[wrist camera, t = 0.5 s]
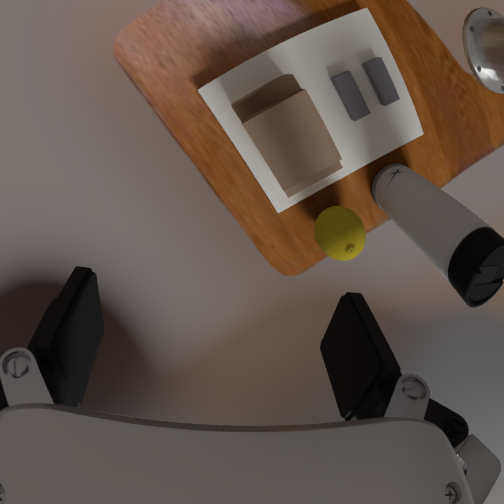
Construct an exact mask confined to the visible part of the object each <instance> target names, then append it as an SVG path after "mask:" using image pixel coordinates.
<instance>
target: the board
mask: <svg viewBox="0 0 504 504" xmlns="http://www.w3.org/2000/svg"><path fill="white" fill-rule="evenodd" d="M376 57H381V58H382V60H383V62H384V64H385V66H386V68H387V70H388V73H389V75H390V77H391V79H392V81H393V84H394V86H395V88H396V91H397V93H398V95H399V98H400V99H399V100H397V101H395V102H393V103H391V104H389V105H387V106H384V105H381V104H380V102H379V100H378V97H377V95H376V93H375V91H374V89H373V87H372V84H371V82H370V80H369V78H368V76H367V74H366V72H365V70H364V68H363V66H362V63H364V62H366V61H369V60H371V59H373V58H376ZM344 71H350V72H351V74H352V76H353V78H354V79H355V81H356V83H357V86H358V88H359V90H360V92H361V94H362V96H363V98H364V100H365V102H366V104H367V107H368V109H369V111H370V113H371V114H369V115H367V116H365V117H363V118H361V119H359V120H357V121H353V120H351V119H350V117H349V115H348V113H347V111H346V109H345V107H344V105H343V103H342V101H341V99H340V97H339V95H338V93H337V91H336V89H335V87H334V85H333V83H332V82H331V80H330V78H331V77H333V76H335V75H338V74H340V73H342V72H344ZM283 74H293V75H294V77H295V79H296V80H297V82H298V84H299V85H300V87H301V88H302V89H306V91H307V92H308V94H309V96H310V98H311V100H312V101H313V103H314V105H315V107H316V109H317V110H318V112H319V114H320V116H321V118H322V120H323V122H324V124H325V126H326V128H327V129H328V131H329V133H330V135H331V137H332V139H333V141H334V143H335V145H336V147H337V149H338V151H339V153H340V156H341V158H342V160H340V163H341V165H342V167H343V168H342V169H340V170H338V171H336V172H335V173H333V174H331V175H329V176H327V177H325V178H324V179H322V180H320V181H318V182H316V183H315V184H313V185H311V186H309V187H307V188H306V189H304V190H302V191H300V192H298V193H297V194H295V195H293V196H291V197H289V198H288V197H287V195H286V193H285V192H284V191H283V190H282V188H281V186H280V185H279V183H278V181H277V180H276V178H275V176H274V175H273V173H272V171H271V170H270V168H269V166H268V165H267V163H266V162H265V160H264V158H263V157H262V155H261V154H260V152H259V150H258V149H257V147H256V146H255V144H254V142H253V141H252V139H251V138H250V136H249V135H248V133H247V131H246V130H245V128H244V127H243V125H242V123H241V121H240V119H239V118H238V116H237V115H236V113H235V112H234V110H233V109H232V106H231V103H233V102H235V101H236V100H238V99H240V98H241V97H243V96H245V95H247V94H248V93H250V92H252V91H254V90H255V89H257V88H259V87H261V86H263V85H264V84H266V83H268V82H270V81H272V80H274V79H276V78H277V77H279V76H281V75H283ZM198 92H199V93H200V95H201V96H202V98H203V99H204V101H205V102H206V103H207V105H208V106H209V108H210V109H211V111H212V112H213V114H214V115H215V117H216V118H217V120H218V121H219V123H220V124H221V126H222V127H223V129H224V130H225V132H226V133H227V135H228V136H229V138H230V139H231V141H232V142H233V144H234V145H235V147H236V148H237V150H238V151H239V153H240V154H241V156H242V157H243V159H244V160H245V162H246V164H247V165H248V167H249V168H250V170H251V171H252V173H253V174H254V176H255V177H256V179H257V181H258V182H259V184H260V185H261V187H262V188H263V190H264V192H265V193H266V195H267V196H268V198H269V200H270V201H271V203H272V204H273V206H274V207H275V209H276V211H277V212H278V213H280V212H281V211H283V210H285V209H287V208H289V207H290V206H292V205H294V204H296V203H297V202H299V201H301V200H303V199H305V198H306V197H308V196H310V195H312V194H314V193H315V192H317V191H319V190H321V189H323V188H324V187H326V186H328V185H330V184H332V183H334V182H335V181H337V180H339V179H341V178H343V177H345V176H346V175H348V174H350V173H352V172H354V171H356V170H357V169H359V168H361V167H363V166H365V165H367V164H368V163H370V162H372V161H374V160H376V159H378V158H380V157H381V156H383V155H385V154H387V153H389V152H391V151H393V150H394V149H396V148H398V147H400V146H402V145H404V144H406V143H408V142H409V141H411V140H413V139H415V138H417V137H419V136H421V135H423V134H424V133H423V130H422V127H421V125H420V122H419V119H418V116H417V113H416V111H415V108H414V105H413V103H412V100H411V98H410V95H409V93H408V90H407V88H406V85H405V83H404V81H403V78H402V76H401V74H400V71H399V69H398V67H397V65H396V62H395V60H394V58H393V56H392V54H391V52H390V50H389V48H388V46H387V44H386V42H385V40H384V38H383V36H382V34H381V32H380V30H379V28H378V26H377V24H376V23H375V21H374V19H373V17H372V15H371V14H370V12H369V10H368V8H364V9H361V10H359V11H356V12H353V13H350V14H348V15H345V16H342V17H340V18H337V19H334V20H332V21H329V22H327V23H325V24H322V25H320V26H317V27H315V28H313V29H310V30H308V31H306V32H304V33H301V34H299V35H297V36H295V37H293V38H291V39H288V40H286V41H284V42H282V43H280V44H278V45H276V46H274V47H272V48H270V49H268V50H266V51H264V52H262V53H260V54H258V55H257V56H255V57H253V58H251V59H249V60H247V61H245V62H244V63H242V64H240V65H238V66H236V67H235V68H233V69H231V70H230V71H228V72H226V73H224V74H223V75H221V76H219V77H218V78H216V79H214V80H213V81H211V82H209V83H208V84H206V85H205V86H203V87H201V88H200V89H198Z"/></svg>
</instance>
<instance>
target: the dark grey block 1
mask: <svg viewBox="0 0 504 504" xmlns="http://www.w3.org/2000/svg"><path fill="white" fill-rule="evenodd" d="M330 80H331V82H332V83H333V85H334V87H335V89H336V91H337V93H338V95H339V97H340V99H341V101H342V103H343V105H344V107H345V109H346V111H347V113H348V115H349V117H350V119H351V120H353V121H357V120H359V119H361V118H363V117H365V116H367V115H369V114H371V113H370V111H369V109H368V107H367V104H366V102H365V100H364V98H363V96H362V94H361V92H360V90H359V88H358V86H357V83H356V81H355V79H354V78H353V76H352V74H351V72H350V71H344V72H342V73H340V74H338V75H335V76H333V77H331V78H330Z"/></svg>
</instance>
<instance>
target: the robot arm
mask: <svg viewBox="0 0 504 504" xmlns="http://www.w3.org/2000/svg"><path fill="white" fill-rule="evenodd" d="M463 46H464V51H465V55H466V58H467V61H468V64H469V66H470V68H471V70H472V72H473V74H474V75H475V77H476V78H477V79H478V81H479V82H480V83H481V84H482V85H483V86H484V87H485V88H487V89H489V90H490V91H493V92H497V93H501V94H502V93H504V17H503V16H501V15H500V14H499V13H498V12H496V11H494V10H492V9H488V8H478V9H474V10H473V11H471V12H470V13H469V14H468V15H467V17H466V19H465V22H464V26H463ZM103 333H104V322H103V316H102V310H101V304H100V298H99V291H98V284H97V276H96V274H95V272H92V270H91V268H87V267H78V266H77V267H75V269H74V271H73V272H72V274H71V276H70V277H69V279H68V280H67V282H66V284H65V286H64V287H63V289H62V291H61V292H60V294H59V296H58V298H55V299H53V300H52V302H51V303H50V305H49V307H48V309H47V310H46V312H45V315H44V316H43V318H42V320H41V322H40V323H39V325H38V327H37V329H36V331H35V333H34V335H33V337H32V339H31V341H30V343H29V345H28V347H27V349H24V348H13V349H10V350H9V351H7V352H6V353H4V355H2V357H1V359H0V504H483V503H484V501H485V499H486V498H487V496H488V494H489V493H490V491H491V489H492V487H493V485H494V484H495V481H496V480H497V478H498V476H499V474H500V471H501V464H500V461H499V460H498V458H497V457H496V456H495V455H494V454H493V453H492V452H491V451H490V450H489V449H488V448H487V447H486V446H485V445H484V444H482V442H481V441H480V440H479V439H477V438H476V437H475V436H474V435H473V434H471V435H469V434H468V430H469V429H468V425H467V423H466V421H465V420H464V419H463V417H461V416H460V415H459V414H457V413H455V412H453V411H451V410H450V409H448V408H446V407H445V406H443V405H441V404H439V403H438V402H436V401H434V400H432V399H431V398H429V397H430V390H429V387H428V385H427V383H426V382H425V381H424V380H423V379H422V378H420V377H419V376H417V375H414V374H404V375H402V374H401V372H400V370H401V369H400V367H399V365H398V363H397V361H396V358H395V357H394V354H393V352H392V350H391V349H390V347H389V345H388V343H387V341H386V339H385V337H384V335H383V333H382V331H381V329H380V327H379V325H378V323H377V321H376V320H375V318H374V316H373V314H372V312H371V310H370V308H369V306H368V305H367V303H366V301H365V299H364V297H363V296H362V294H361V293H351V292H348V293H346V294H345V295H344V296H342V297H341V298H340V300H339V303H338V305H337V307H336V310H335V312H334V314H333V317H332V319H331V322H330V324H329V326H328V328H327V331H326V333H325V335H324V337H323V339H322V341H321V346H320V350H321V353H322V356H323V360H324V363H325V366H326V369H327V372H328V376H329V379H330V382H331V385H332V389H333V391H334V395H335V399H336V402H337V405H338V408H339V412H340V415H341V416H342V418H345V421H342V422H331V423H320V424H319V423H318V424H303V425H278V426H231V425H206V424H192V423H179V422H168V421H159V420H150V419H143V418H136V417H129V416H122V415H116V414H110V413H104V412H98V411H93V410H88V409H83V408H77V405H78V403H82V401H83V398H84V395H85V391H86V388H87V384H88V381H89V377H90V374H91V370H92V367H93V364H94V361H95V358H96V355H97V351H98V348H99V345H100V342H101V339H102V336H103Z"/></svg>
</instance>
